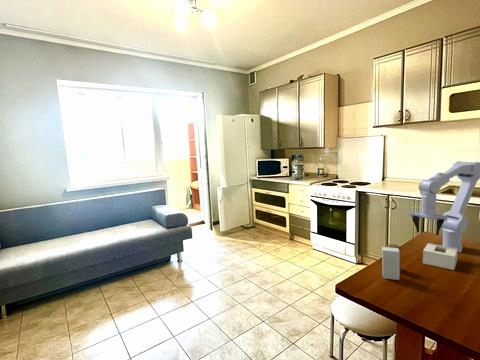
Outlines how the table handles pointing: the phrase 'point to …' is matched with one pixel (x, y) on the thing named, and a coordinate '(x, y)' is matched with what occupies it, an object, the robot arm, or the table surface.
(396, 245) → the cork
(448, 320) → the table surface
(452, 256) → the slot box
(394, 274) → the skincare box
